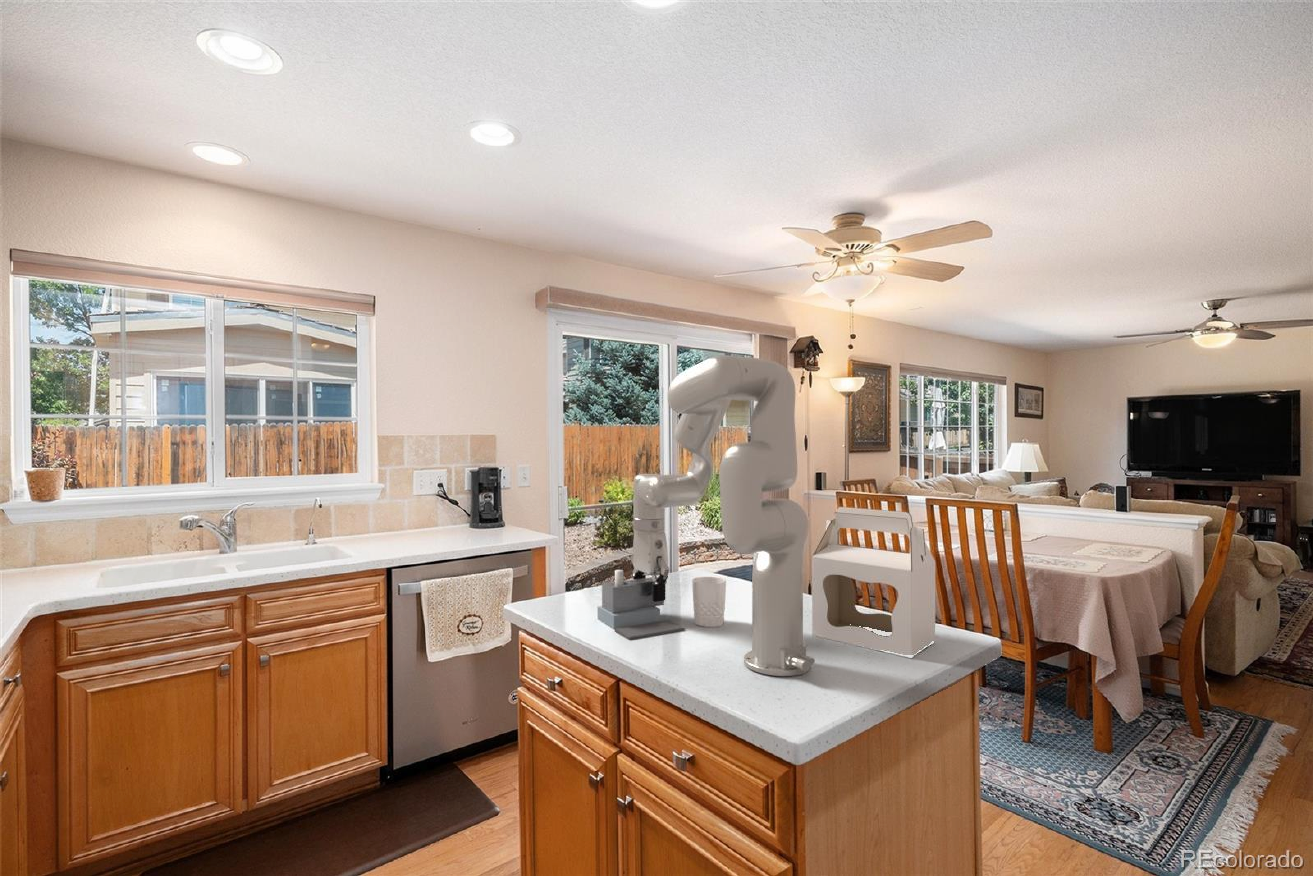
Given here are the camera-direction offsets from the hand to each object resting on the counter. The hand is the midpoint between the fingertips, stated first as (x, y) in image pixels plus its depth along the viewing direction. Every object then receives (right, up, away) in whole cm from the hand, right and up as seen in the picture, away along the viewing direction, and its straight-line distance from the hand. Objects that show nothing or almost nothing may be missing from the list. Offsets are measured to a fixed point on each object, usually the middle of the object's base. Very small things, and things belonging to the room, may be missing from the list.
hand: (648, 596), depth 153 cm
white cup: (+14, -5, -5) cm, 16 cm away
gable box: (+48, -5, -16) cm, 51 cm away
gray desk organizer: (-4, -2, -2) cm, 4 cm away
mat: (0, -5, -11) cm, 12 cm away
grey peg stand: (-5, -5, -3) cm, 7 cm away
